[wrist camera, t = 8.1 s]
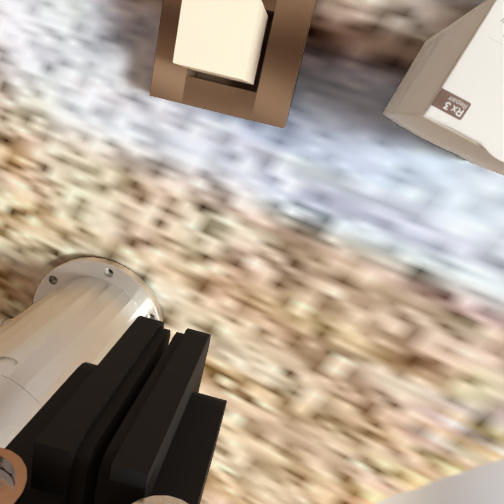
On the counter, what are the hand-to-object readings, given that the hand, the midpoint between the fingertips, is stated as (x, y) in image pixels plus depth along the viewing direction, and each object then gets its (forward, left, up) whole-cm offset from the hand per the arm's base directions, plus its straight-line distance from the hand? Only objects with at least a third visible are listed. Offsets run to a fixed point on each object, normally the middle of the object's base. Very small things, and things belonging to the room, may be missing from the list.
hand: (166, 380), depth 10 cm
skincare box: (+14, +4, -27) cm, 31 cm away
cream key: (-1, +11, -24) cm, 26 cm away
